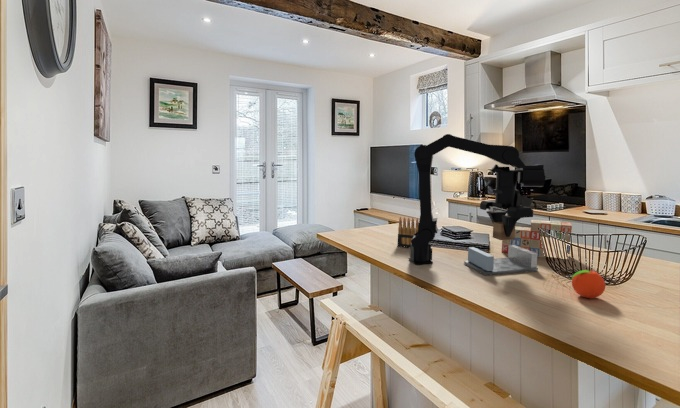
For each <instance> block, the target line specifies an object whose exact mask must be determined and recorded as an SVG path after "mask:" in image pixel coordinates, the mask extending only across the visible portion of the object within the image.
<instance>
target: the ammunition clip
mask: <svg viewBox="0 0 680 408" xmlns="http://www.w3.org/2000/svg"><path fill="white" fill-rule="evenodd" d="M418 226H419V218H416V220H414V217H413V218H411V219H410V217H407V220H406V217H403V220H402V217H401V216H400V217H399V218H398V228H397V229H398V232H397V233H398V234H397V245H398V246H397V245H396V246H397V247H400V246H405V247H404V248H408V247H410V244H411V240H412V238H413V235H414V234H415V233H417V232H418Z"/></svg>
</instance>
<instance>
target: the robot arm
mask: <svg viewBox="0 0 680 408" xmlns="http://www.w3.org/2000/svg"><path fill="white" fill-rule="evenodd" d="M447 148H453V149H457V150H461V151H464V152H468V153H473V154H476V155H480V156H483V157H486V158H488V159H490V160H492V161H495V162H497V163H499V164H502V165H506V166H499V164H494V165H493V167H492V168H490V169H489V171H490V172H491V173H495V174H496V178H495V179H496V180H495V189H494V188H493V189H492V193H494V194H495V199H493V200H492V199H491V200H482V201H481V202H480V203H479V210H483V211H486V214H487V215H488V217H489V218H490V220H491V222H492V224H493V222H503V226H504V230H505V234H506V237H510V235H511V233H512V230H513V228H514V226H516V224H517V222H518V221H519V220H520V219H524V218H533V217H534V209H533V208H532V204H533V202H534V200H533V199H532V198H530V197H526V196H524V195H521V194H520V190H519V189H517V183H518V184H520V185H521V187H525V188H527V187H529V188H530V187H531V188H532V187H535V188H536V187H538V188H542V187H544V186H545V183H546V174H545V168H544V167H545V166H544V164H541V163H539V164H534V165H533V164H529V165H528V164H525V163H524V162H523V160H522V159H521V158H520V152H519V150H518V149H517V148H516V147H515V146H512V145H503V144H501V145H500V144H489V143H485V142H484V143H483V142H479V141H475V140H473V139H472V140H471V139H467V138H463V137H459V136H455V135H452V134H450V133H448V134H447V133H446V134H444V135H443V136H442V137H440V138H438V139H436V140H434V141H432V142H431V143H429V144H427V145H426V144H422V145H419V146H417V148H415V150H414V154H413V155H414V159H415V163H416V165H415V166H416V168H417V172H418V182H419V183H418V185H419V206H420V207H419V210H420V211H419V212H420V215H419V219H418V222H419V226H418V232H417V233H415V234H414V235H413V238H412V240H411V244H410V248H409V249H410V256H409V257H408V260H409V261H410V262H411V263H412V264H413V265H426V264H433V263H434V261H433V248H432V244H431V243H430V242H432V241H433V240H434V239H435V238H436V234H437V233H438V230H439V229H438V226H437V225H438V224H437V223H438V217H436V218H434V216H433V212H432V211H433V208H432V205H433V204H432V184H431V183H432V180H431V179H432V178H431V172H432V166H433V159H434V155H437V154H438V153H440V152H441V151H443V150H445V149H447ZM510 166H511V167H513V168H517V169H511V168H510ZM487 209H488V210H487Z"/></svg>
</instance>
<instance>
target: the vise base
mask: <svg viewBox="0 0 680 408" xmlns="http://www.w3.org/2000/svg"><path fill="white" fill-rule="evenodd" d="M537 254H538V253H535V252H532V251H529V250H527V249H524V248H521V247H518V246H516V245H509V248H508V253H507V257H499V258H498V257H497V258H494V265H493V271H486V270H484V269H482V268H481V267H479V266H477V265H475V264H473V263H471V262H469V261H468V260H463V261H464V262H463V264H464V265H465V266H467V267H469V268H470V269H472V270H474V271H476V272H477V273H480V274H481V275H483V276H486V277H487V276H497V275H507V274H519V273H520V274H521V273H531V272H538V271H539V268H538V257H537Z"/></svg>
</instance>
